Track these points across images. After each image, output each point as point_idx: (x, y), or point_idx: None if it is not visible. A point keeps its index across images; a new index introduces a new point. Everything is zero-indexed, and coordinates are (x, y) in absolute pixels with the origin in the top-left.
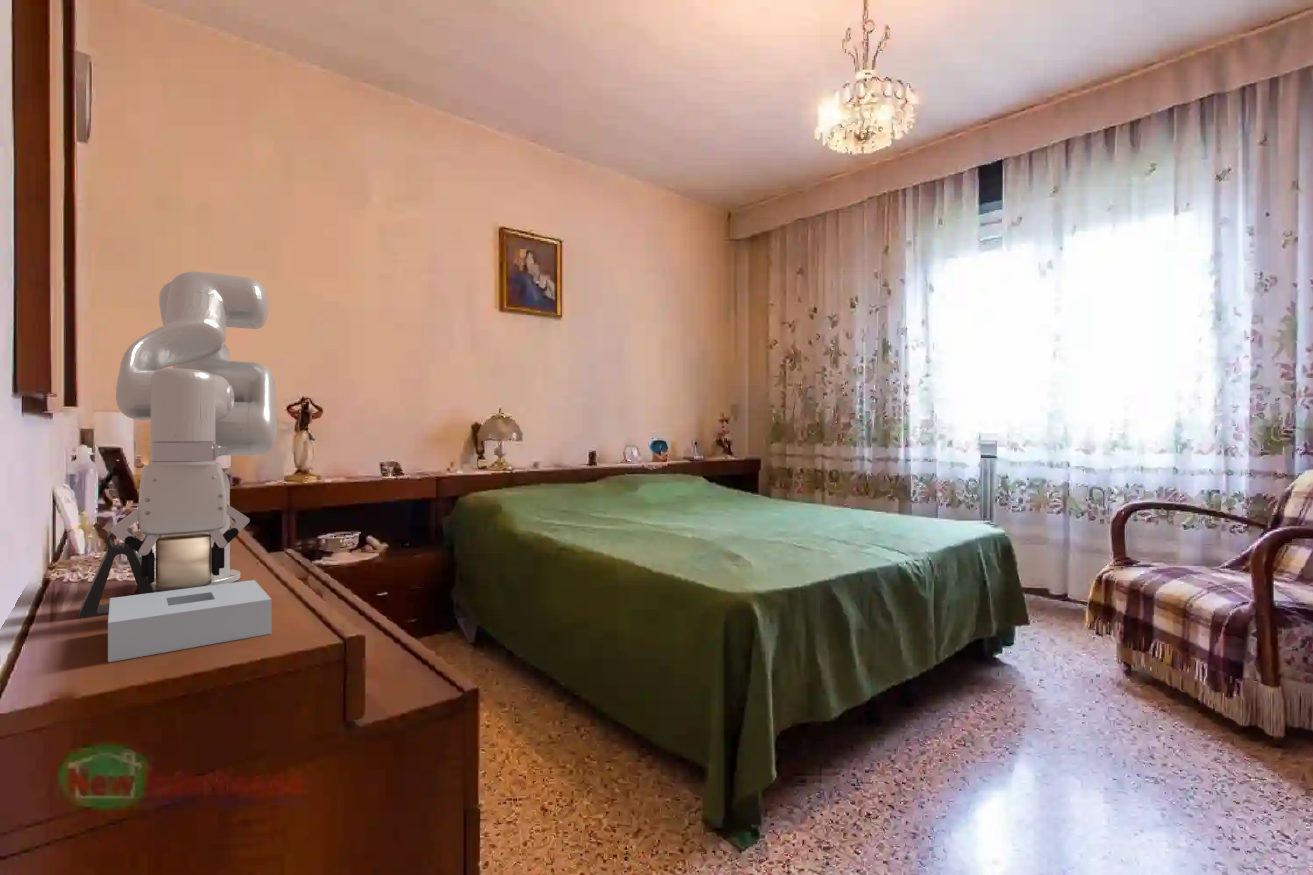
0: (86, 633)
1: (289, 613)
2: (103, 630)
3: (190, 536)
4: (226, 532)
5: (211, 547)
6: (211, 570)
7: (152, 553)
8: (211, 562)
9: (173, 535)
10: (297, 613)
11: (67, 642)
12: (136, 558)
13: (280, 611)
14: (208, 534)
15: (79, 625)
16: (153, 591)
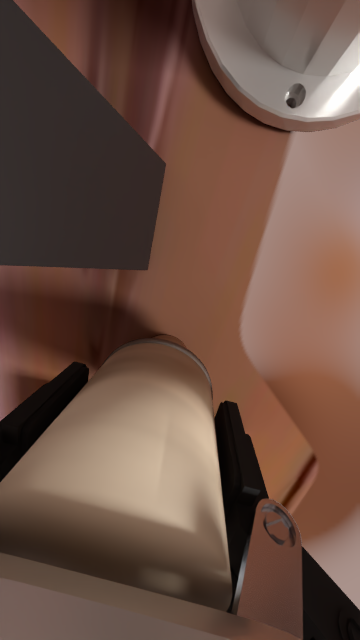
0: (36, 360)
1: (264, 479)
2: (55, 362)
3: (128, 583)
4: (315, 636)
5: (232, 488)
6: (221, 406)
7: (22, 447)
8: (224, 427)
9: (57, 488)
10: (270, 486)
11: (18, 386)
12: (2, 264)
13: (264, 462)
14: (226, 593)
15: (24, 297)
16: (124, 268)
